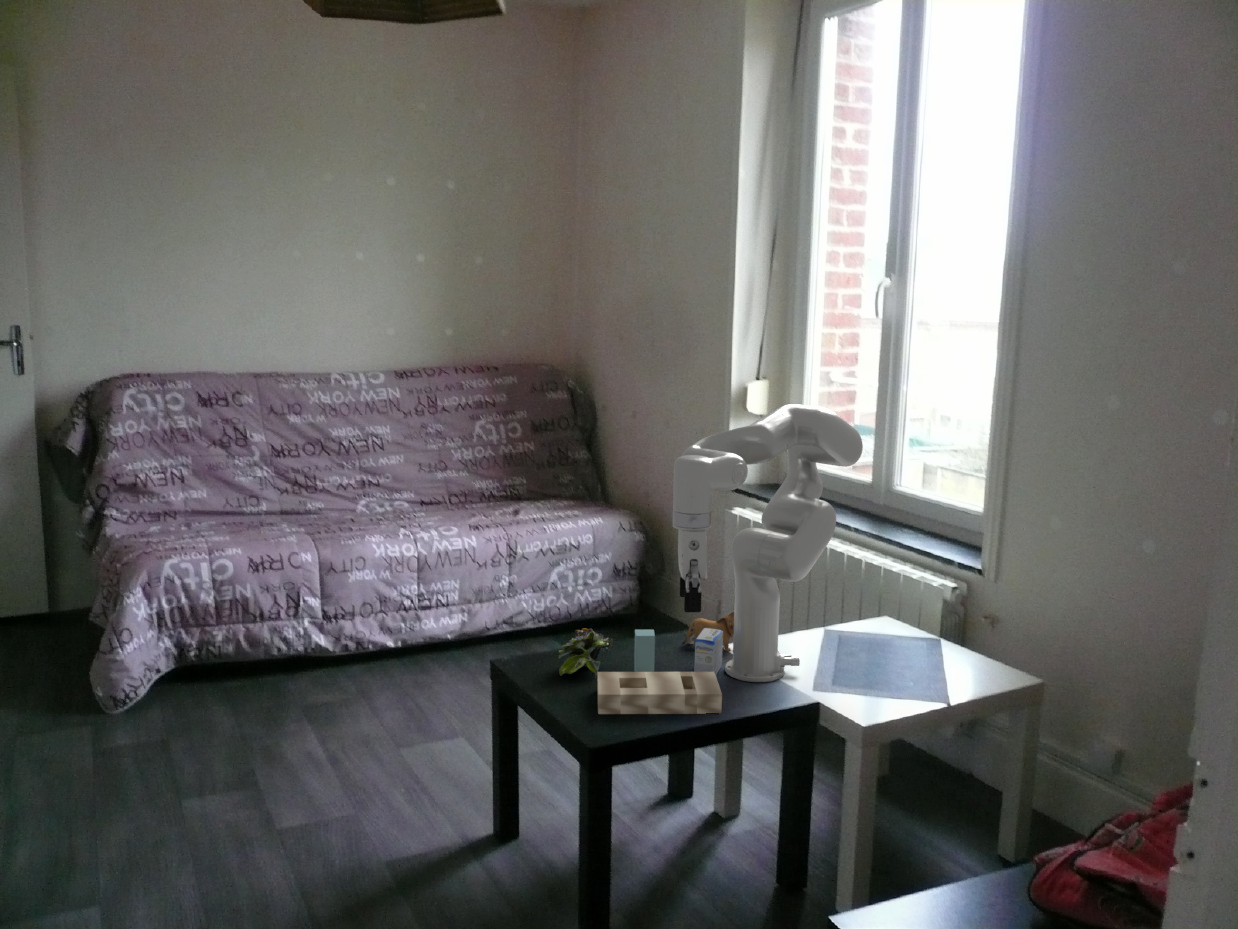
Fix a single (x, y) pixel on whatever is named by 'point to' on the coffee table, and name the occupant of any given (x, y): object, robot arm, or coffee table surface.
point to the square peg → (644, 651)
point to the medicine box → (708, 651)
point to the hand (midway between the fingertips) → (690, 604)
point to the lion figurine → (723, 624)
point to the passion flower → (584, 651)
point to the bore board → (658, 693)
